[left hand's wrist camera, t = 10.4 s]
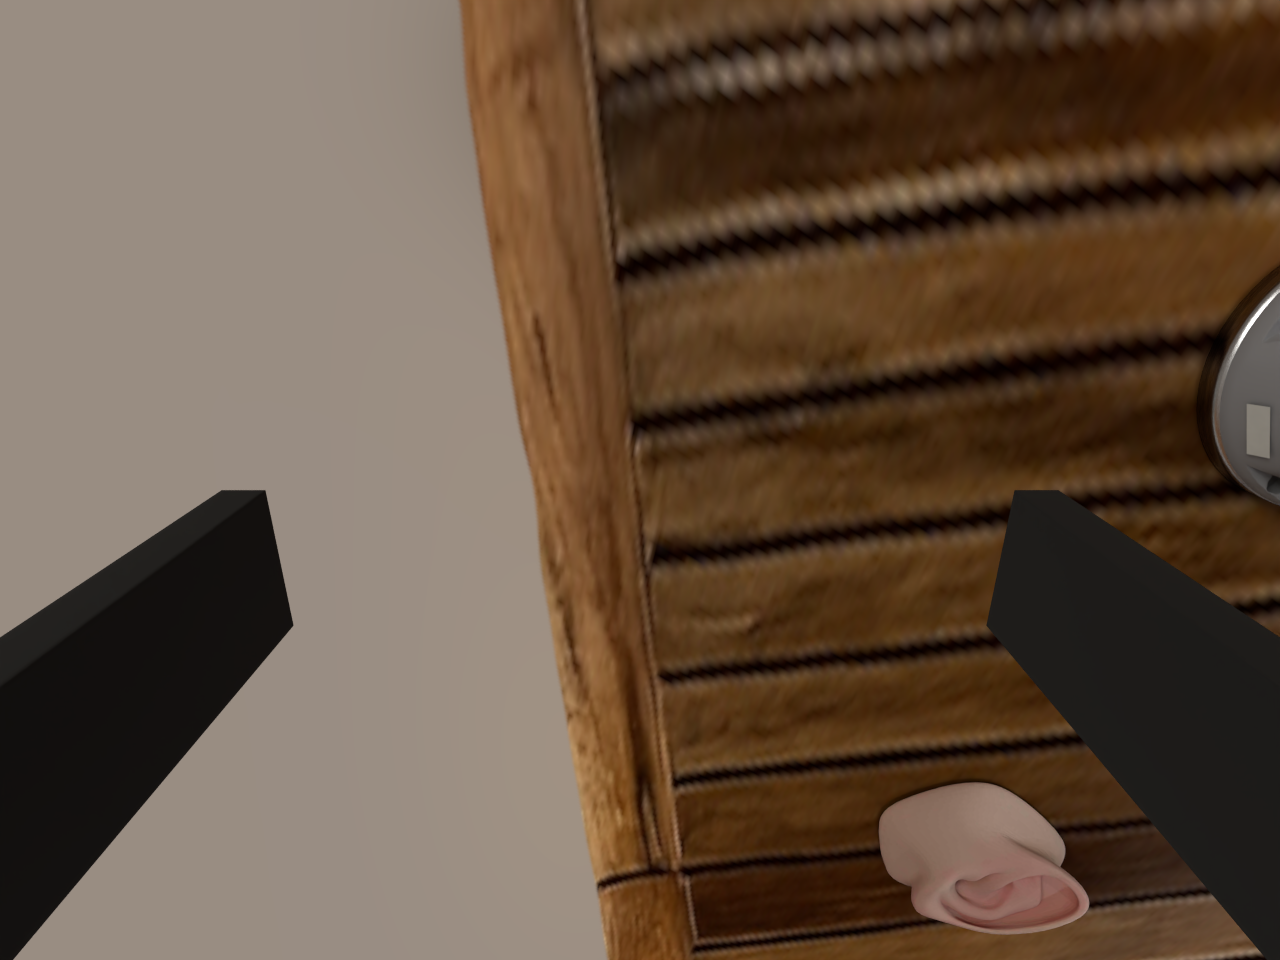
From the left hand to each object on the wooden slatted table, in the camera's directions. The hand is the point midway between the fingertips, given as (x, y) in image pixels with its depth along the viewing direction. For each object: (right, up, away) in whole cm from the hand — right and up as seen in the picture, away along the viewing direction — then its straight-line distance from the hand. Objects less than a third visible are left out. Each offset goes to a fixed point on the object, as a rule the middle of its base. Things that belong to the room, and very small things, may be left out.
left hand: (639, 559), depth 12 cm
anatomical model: (+23, -25, +38) cm, 51 cm away
